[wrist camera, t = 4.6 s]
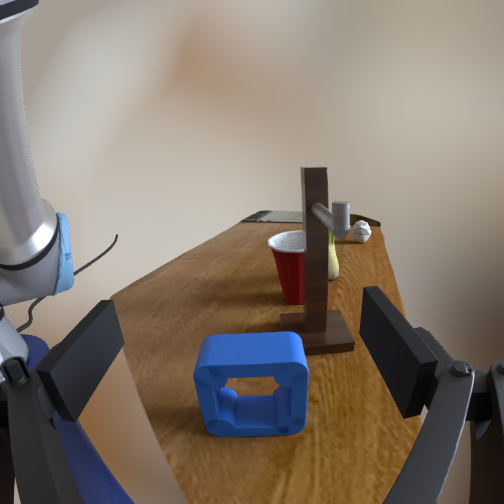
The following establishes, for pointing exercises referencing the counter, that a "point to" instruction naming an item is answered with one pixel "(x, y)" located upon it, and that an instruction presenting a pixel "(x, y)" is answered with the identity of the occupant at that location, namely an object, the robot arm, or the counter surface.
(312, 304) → the hook stand
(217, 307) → the counter surface
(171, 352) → the counter surface
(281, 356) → the blue rounded square frame
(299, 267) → the plastic cup
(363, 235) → the white lumpy ball
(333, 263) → the fennel bulb
